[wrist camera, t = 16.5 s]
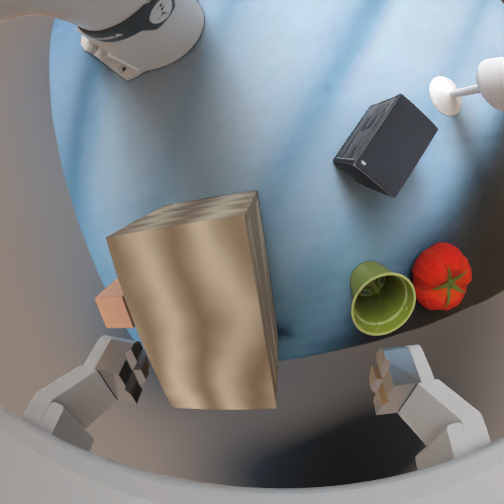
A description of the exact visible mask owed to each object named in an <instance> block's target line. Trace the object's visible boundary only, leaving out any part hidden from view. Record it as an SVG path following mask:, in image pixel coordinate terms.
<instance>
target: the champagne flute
mask: <svg viewBox="0 0 504 504" xmlns="http://www.w3.org/2000/svg"><path fill="white" fill-rule="evenodd" d="M476 81H477V84H476V85H472V86H468V87H464V88H460V89H458V88H457V87H456V85H455V84H454V83H453V82H452V81H451V80H450V79H448V78H446V77H443V76H438V77H435V78H434V79H433V80H432V81H431V83H430V88H429V90H430V96H431V99H432V102H433V104H434V105H435V107H436V108H437V109H438V110H439V111H440V112H441V113H443V114H444V115H447V116H454V115H456V114H457V113H459V111H460V109H461V105H462V100H461V96H465V95H470V94H475V93H481V95H482V96H483V98H484V99H485V100H486V101H487V102H488V103H489V104H490V105H491V106H493V107H494V108H496V109H498V110H500V111H504V57H497V58H490V59H485V60H483V61H482V62H481V63H480V64H479V66H478V69H477V73H476Z"/></svg>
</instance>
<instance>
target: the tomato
mask: <svg viewBox="0 0 504 504" xmlns="http://www.w3.org/2000/svg"><path fill="white" fill-rule="evenodd" d="M412 273H413V283H412V284H413V286H414V289H415V293H416V299H417V301H418V302H419V303H421V304H422V305H423V306H424V307H426V308H427V309H429V310H446V311H447V310H449V309H451V308H454V307H456V306H457V305H458V304H459V303H460V302H461V301H462V299H463V297H464V295H465V293H466V287H467V284H469V283H470V282H471V279H472V273H471V268H470V265H469V263H468V260H467V258H466V257H464V256H463V255H462V253H461V251H460V250H459V249H458V248H457V247H455V246H453V245H452V244H449V243H436V244H435V245H433V246H431V247H430V248H428V249H426V250H425V251H423V252H422V253H421V254H420V255H419V257H418V258H417V259H416V261H415V264H414V266H413V269H412Z"/></svg>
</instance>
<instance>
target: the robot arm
mask: <svg viewBox="0 0 504 504" xmlns="http://www.w3.org/2000/svg"><path fill="white" fill-rule="evenodd" d="M26 15H46V16H51V17H54V18H57V19H61V20H64V21H67V22H69V23H72V24H74V25H76V26H77V31H78V32H79V33H80V34H82V37H81V46H82V47H83V49H84V50H85V51H87V52H89V53H91V54H93V55H94V56H96V57H97V58H98V59H99V60H101V61H102V62H103V63H105V64H106V65H107V66H109V67H110V68H111V69H112V70H114V71H115V72H116V73H117V74H119V75H120V76H121V77H123V78H124V79H126V80H132V79H134V78H136V77H137V76H139V75H140V74H142V73H143V72H145V71H148V70H152V69H157V68H161V67H164V66H166V65H169V64H171V63H173V62H175V61H176V60H178V59H179V58H181V57H182V56H183V55H185V54H186V53H187V52H188V51H189V50H190V49H191V48H192V47H193V46H194V44H195V43H196V42H197V40H198V38H199V37H200V35H201V32H202V30H203V26H204V14H203V11H202V9H201V7H200V5H199V4H198V2H197V0H0V22H2V21H6V20H9V19H12V18H16V17H21V16H26ZM125 67H126V70H125V71H124V68H125ZM142 350H143V347H142V345H141V343H140V342H138V341H133V340H127V339H122V338H116V337H110V336H105V335H103V336H102V337H100V338H99V340H98V342H97V343H96V345H95V347H94V348H93V350H92V352H91V353H90V355H89V357H88V358H87V360H86V362H85V363H84V365H83V366H78V367H77V368H75V369H74V370H72V371H70V372H69V373H67V374H65V375H64V376H62V377H61V378H59V379H57V380H56V381H54V382H53V383H51V384H49V385H48V386H46V387H44V388H43V389H41V390H40V391H38V392H36V394H35V396H34V398H33V399H32V401H31V403H30V405H29V406H28V408H27V410H26V412H25V413H24V415H23V417H22V418H21V417H20V416H18V415H16V414H15V413H13V412H11V411H10V410H9V409H7V408H5V407H4V406H2V405H1V404H0V504H504V437H503V438H500V439H498V440H496V441H494V442H492V443H491V441H490V438H489V435H488V432H487V429H486V427H485V423H484V421H483V418H482V415H481V413H480V412H478V411H477V410H476V409H475V408H474V407H472V406H471V405H470V404H469V403H467V402H466V401H465V400H464V399H462V398H461V397H460V396H459V395H457V394H456V393H455V392H454V391H452V390H451V389H450V388H449V387H447V386H446V385H445V384H443V383H442V382H441V381H439V380H438V379H437V380H435V379H434V377H433V374H432V372H431V369H430V367H429V364H428V362H427V360H426V357H425V355H424V353H423V350H422V348H421V347H420V345H411V346H400V347H391V348H381V349H379V350H378V351H377V354H376V359H377V361H376V362H375V363H373V364H372V366H371V369H370V375H369V381H370V387H371V390H372V391H374V392H375V393H376V395H375V397H374V399H373V401H374V406H375V410H376V415H380V414H389V413H396V412H398V414H399V415H400V416H401V417H402V419H403V420H404V421H405V422H406V423H407V424H408V425H409V426H410V428H411V429H412V430H413V431H414V432H415V433H416V434H417V436H418V437H419V438H420V439H421V440H422V441H423V442H424V443H425V445H426V447H425V448H424V449H423V450H422V451H421V452H420V453H418V455H417V456H416V457H415V458H416V463H417V469H418V471H414V472H410V473H406V474H403V475H398V476H394V477H389V478H385V479H379V480H374V481H368V482H362V483H355V484H348V485H340V486H331V487H317V488H295V489H294V488H293V489H273V488H272V489H271V488H270V489H269V488H249V487H236V486H225V485H218V484H210V483H203V482H197V481H191V480H186V479H181V478H176V477H171V476H167V475H162V474H158V473H154V472H150V471H146V470H143V469H139V468H136V467H132V466H129V465H126V464H123V463H120V462H117V461H114V460H111V459H108V458H105V457H103V456H100V455H97V454H94V453H92V452H90V449H91V447H92V444H93V441H94V439H93V436H91V434H89V433H88V432H87V431H86V430H85V429H86V428H87V427H88V426H89V425H90V424H91V423H93V422H94V421H95V420H96V419H97V418H98V417H99V416H101V415H102V414H103V413H104V412H105V411H106V410H108V409H109V408H110V407H111V406H112V405H113V404H114V403H116V402H117V400H120V401H125V402H129V403H134V404H137V402H138V400H139V397H140V395H141V392H142V387H141V384H142V383H143V382H145V381H146V380H147V377H148V374H149V361H148V359H147V357H146V356H145V355H144V354H143V353H142Z"/></svg>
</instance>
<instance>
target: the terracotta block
mask: <svg viewBox="0 0 504 504" xmlns="http://www.w3.org/2000/svg"><path fill="white" fill-rule="evenodd" d="M95 300H96V303H97V305H98V308H99V310H100V313H101V315H102V318H103V320H104V323H105V325H106V327H107V328H134V327H135V324H134V321H133V319H132V316H131V314H130V311H129V308H128V305H127V303H126V300H125V297H124V294H123V291H122V288H121V285H120V282H119V279H118V278H117V279H116V280H114V281H113V282H112V283H111V284H110V285H109V286H108V287H107V288H105V289H104V290H103V291H102V292H101V293H100V294H99V295H98V296H97V297H96V298H95Z"/></svg>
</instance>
